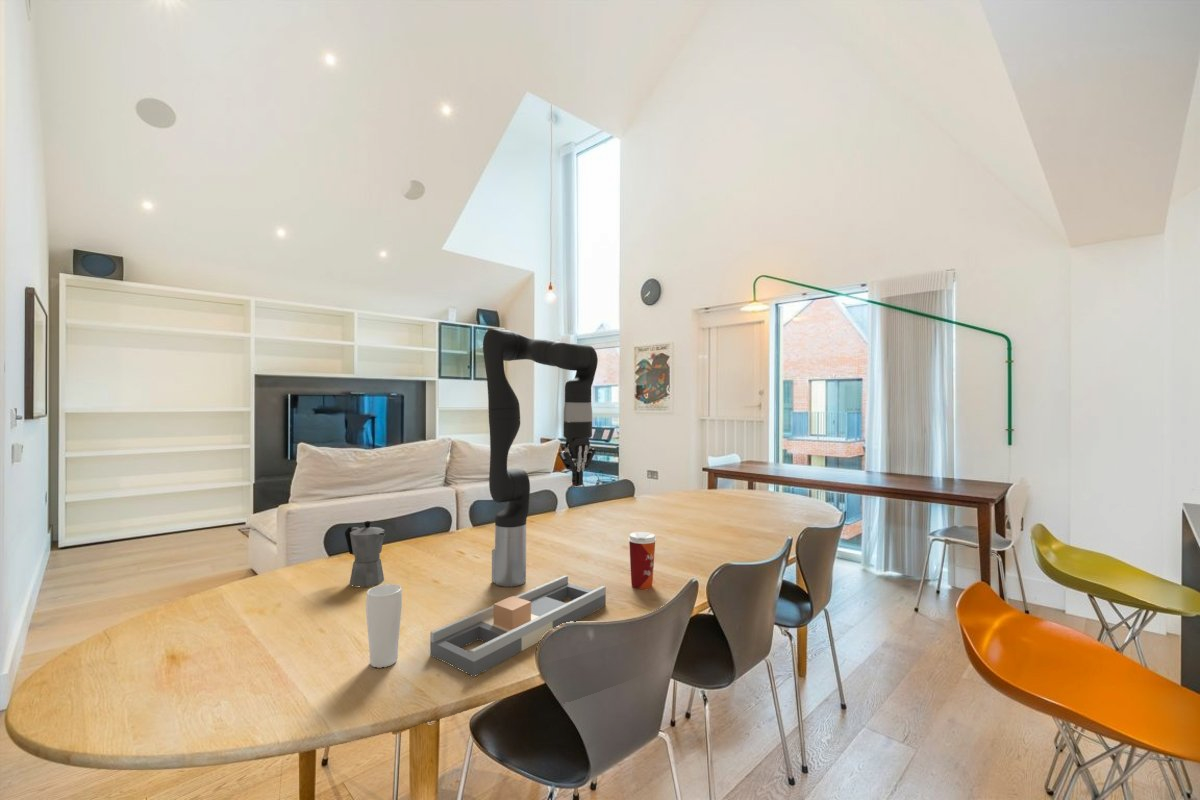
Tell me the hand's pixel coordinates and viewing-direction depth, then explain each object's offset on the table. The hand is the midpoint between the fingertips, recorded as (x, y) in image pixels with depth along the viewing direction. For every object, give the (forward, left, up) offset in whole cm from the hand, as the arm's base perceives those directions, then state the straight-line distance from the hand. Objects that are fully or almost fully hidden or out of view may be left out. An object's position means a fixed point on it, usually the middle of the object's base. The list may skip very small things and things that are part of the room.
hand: (577, 485), depth 135 cm
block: (-5, -22, -29) cm, 36 cm away
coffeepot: (-64, -14, -32) cm, 73 cm away
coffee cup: (+10, +21, -32) cm, 40 cm away
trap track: (-4, -17, -32) cm, 36 cm away
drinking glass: (-21, -44, -32) cm, 58 cm away
